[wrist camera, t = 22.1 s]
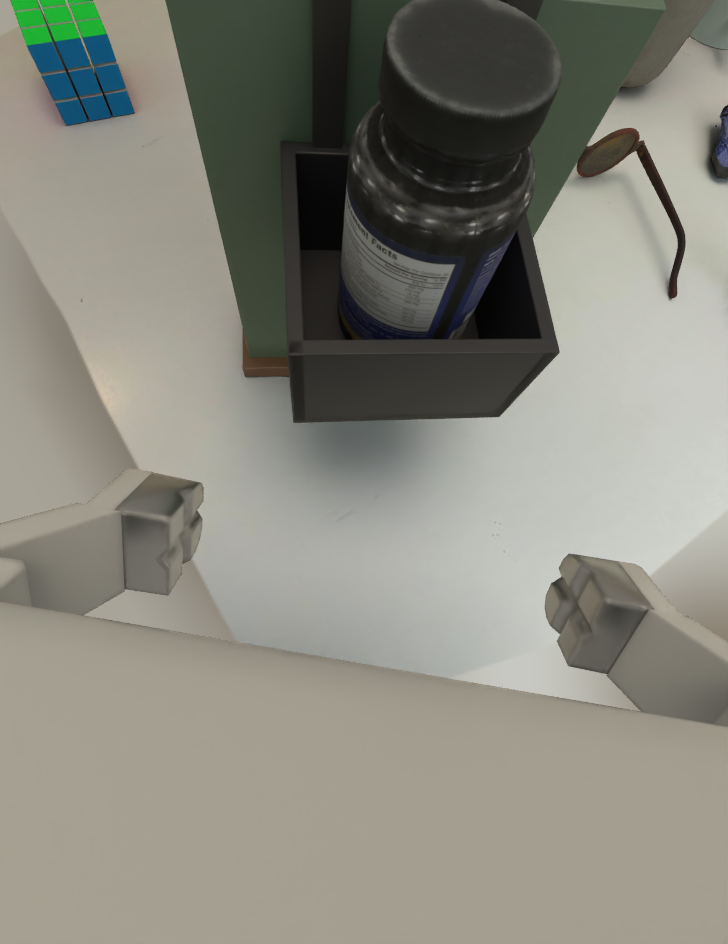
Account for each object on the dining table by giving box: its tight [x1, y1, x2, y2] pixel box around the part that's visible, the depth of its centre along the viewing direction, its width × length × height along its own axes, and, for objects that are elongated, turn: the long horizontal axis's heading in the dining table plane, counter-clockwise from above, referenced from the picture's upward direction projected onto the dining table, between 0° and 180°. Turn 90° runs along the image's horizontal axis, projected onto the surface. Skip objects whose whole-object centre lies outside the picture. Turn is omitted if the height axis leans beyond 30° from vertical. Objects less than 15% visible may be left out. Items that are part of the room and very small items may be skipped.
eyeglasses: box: [577, 128, 685, 298], centre depth 39 cm, size 15×15×5 cm
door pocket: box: [280, 141, 559, 423], centre depth 20 cm, size 10×10×6 cm
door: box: [165, 0, 666, 377], centre depth 25 cm, size 6×17×22 cm, turn 95°
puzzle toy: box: [11, 0, 134, 126], centre depth 37 cm, size 6×6×6 cm
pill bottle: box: [338, 0, 562, 340], centre depth 17 cm, size 6×6×11 cm
